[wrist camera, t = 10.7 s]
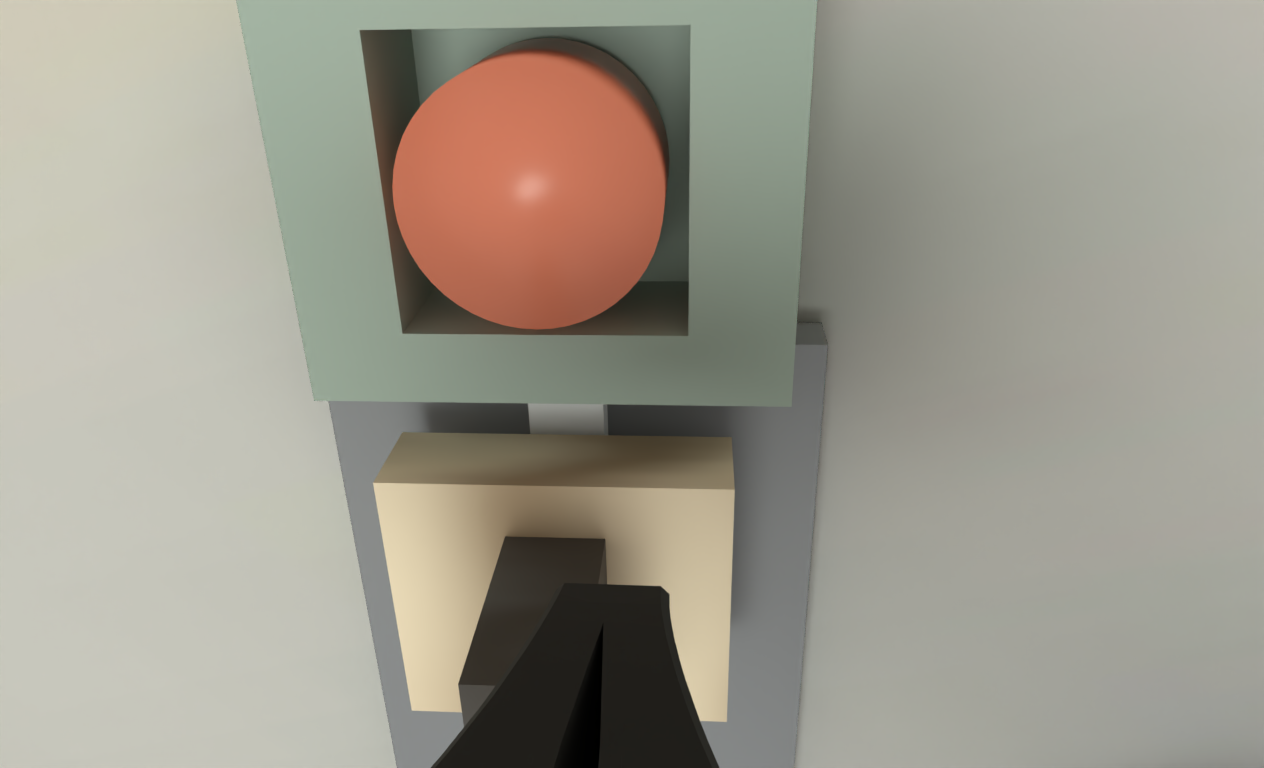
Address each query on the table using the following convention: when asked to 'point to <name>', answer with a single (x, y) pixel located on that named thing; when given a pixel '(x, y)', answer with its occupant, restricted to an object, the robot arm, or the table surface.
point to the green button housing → (692, 222)
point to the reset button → (534, 184)
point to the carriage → (551, 548)
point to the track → (761, 562)
